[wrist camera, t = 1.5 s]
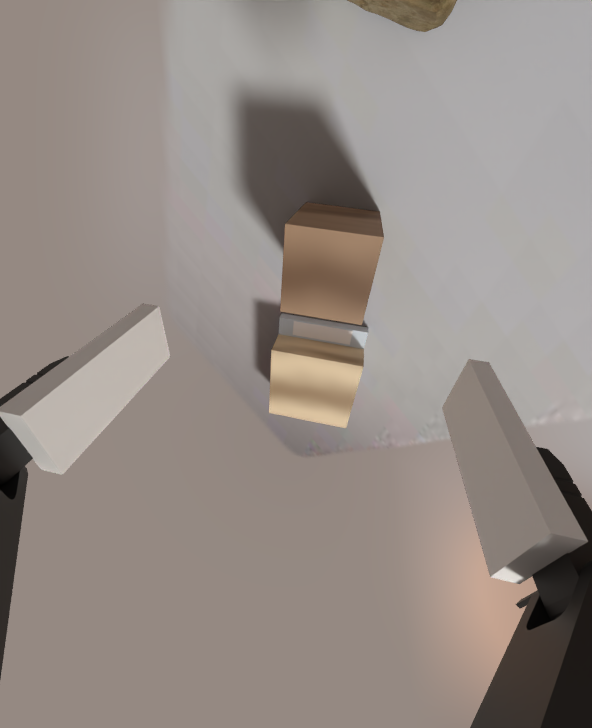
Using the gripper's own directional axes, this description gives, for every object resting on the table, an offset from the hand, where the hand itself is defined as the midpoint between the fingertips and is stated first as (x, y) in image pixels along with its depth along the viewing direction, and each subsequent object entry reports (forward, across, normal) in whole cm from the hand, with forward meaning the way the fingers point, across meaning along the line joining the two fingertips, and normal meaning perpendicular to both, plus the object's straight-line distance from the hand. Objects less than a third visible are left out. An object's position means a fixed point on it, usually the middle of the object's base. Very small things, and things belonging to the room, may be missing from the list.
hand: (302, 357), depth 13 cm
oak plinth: (+16, 0, -14) cm, 21 cm away
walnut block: (+17, 0, 0) cm, 17 cm away
